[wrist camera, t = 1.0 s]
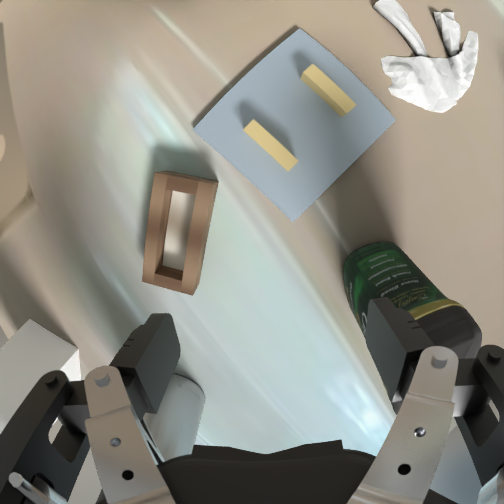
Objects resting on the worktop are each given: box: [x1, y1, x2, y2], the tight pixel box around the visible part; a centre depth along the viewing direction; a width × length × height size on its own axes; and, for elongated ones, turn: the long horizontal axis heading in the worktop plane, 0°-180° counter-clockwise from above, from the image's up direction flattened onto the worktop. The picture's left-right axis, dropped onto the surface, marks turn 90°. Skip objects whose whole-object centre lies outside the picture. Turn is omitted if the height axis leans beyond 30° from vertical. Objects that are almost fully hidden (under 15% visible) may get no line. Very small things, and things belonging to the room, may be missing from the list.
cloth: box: [372, 0, 478, 113], centre depth 20 cm, size 20×22×2 cm
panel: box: [193, 28, 396, 222], centre depth 24 cm, size 16×14×3 cm
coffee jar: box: [343, 241, 482, 415], centre depth 22 cm, size 10×8×19 cm
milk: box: [0, 319, 81, 434], centre depth 28 cm, size 12×12×26 cm
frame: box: [142, 171, 219, 295], centre depth 29 cm, size 12×6×3 cm, turn 167°
